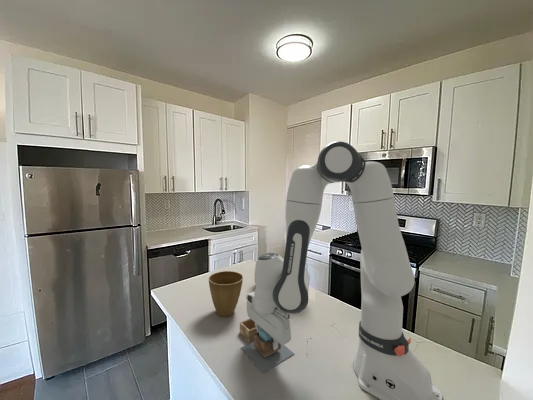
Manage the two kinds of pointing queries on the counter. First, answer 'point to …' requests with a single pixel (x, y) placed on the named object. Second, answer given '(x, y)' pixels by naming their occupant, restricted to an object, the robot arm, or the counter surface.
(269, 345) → the brown wooden square tray
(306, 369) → the counter surface
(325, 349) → the counter surface
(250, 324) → the light wooden open box
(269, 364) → the slate mat
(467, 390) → the counter surface
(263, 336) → the light blue block
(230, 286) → the plant pot
